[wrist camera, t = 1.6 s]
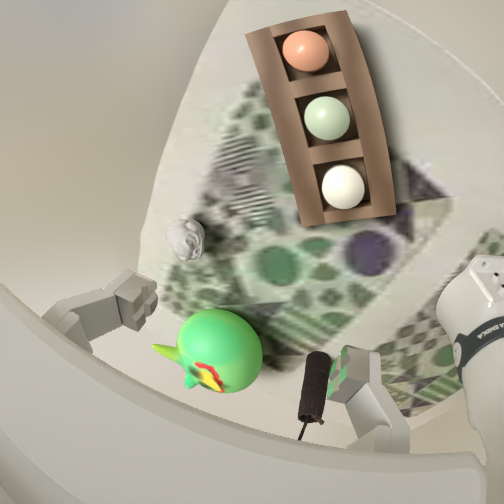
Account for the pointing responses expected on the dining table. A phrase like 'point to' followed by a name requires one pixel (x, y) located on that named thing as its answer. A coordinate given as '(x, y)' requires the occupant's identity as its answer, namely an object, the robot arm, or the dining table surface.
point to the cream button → (343, 186)
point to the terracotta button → (306, 51)
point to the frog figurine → (186, 239)
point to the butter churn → (314, 389)
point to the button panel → (303, 141)
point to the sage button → (327, 118)
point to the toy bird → (216, 351)
